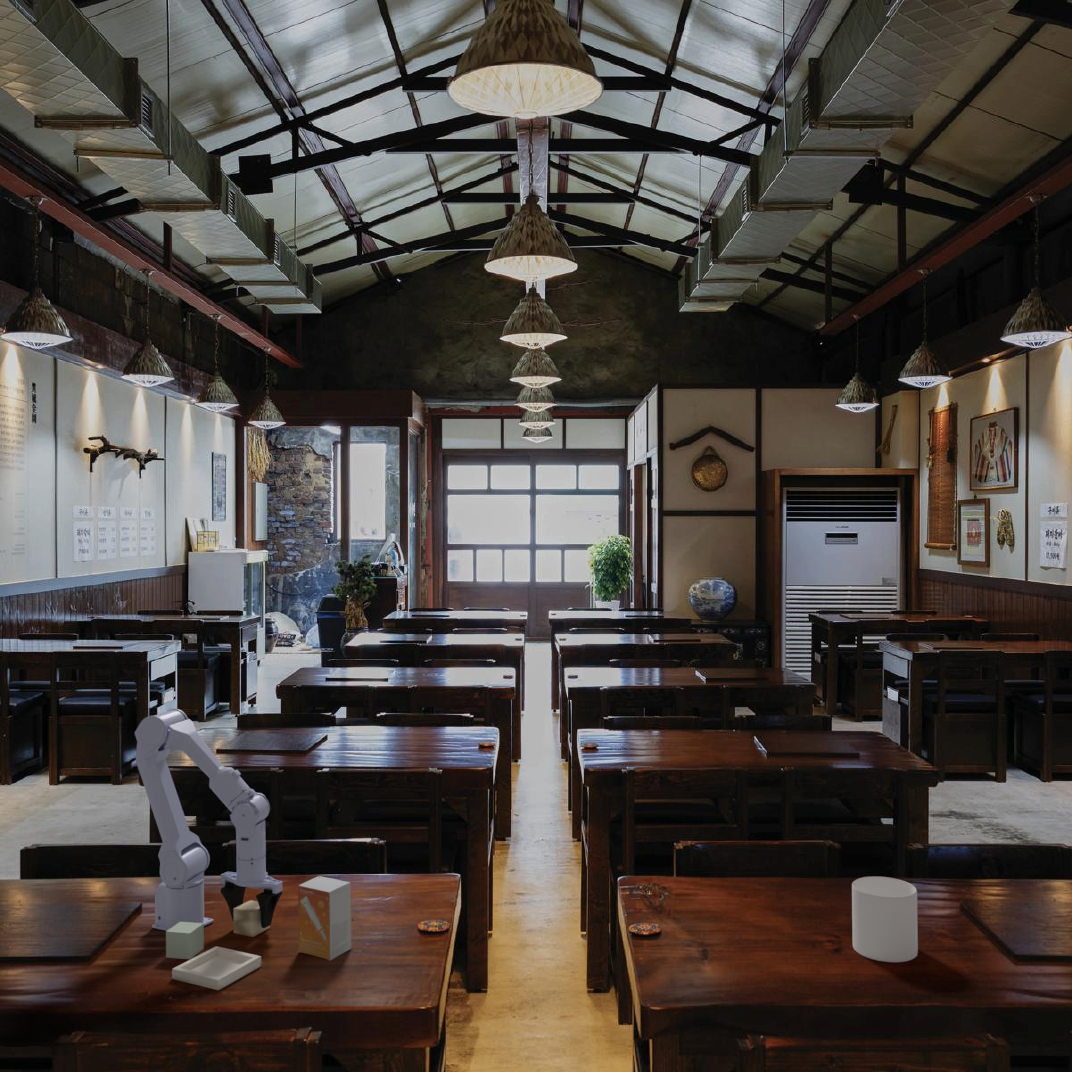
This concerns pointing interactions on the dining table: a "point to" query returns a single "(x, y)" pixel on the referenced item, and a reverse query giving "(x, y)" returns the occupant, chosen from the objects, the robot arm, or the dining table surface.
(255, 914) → the maple cube
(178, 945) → the sage cube
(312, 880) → the small box
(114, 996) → the dining table surface
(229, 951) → the tray
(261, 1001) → the dining table surface
